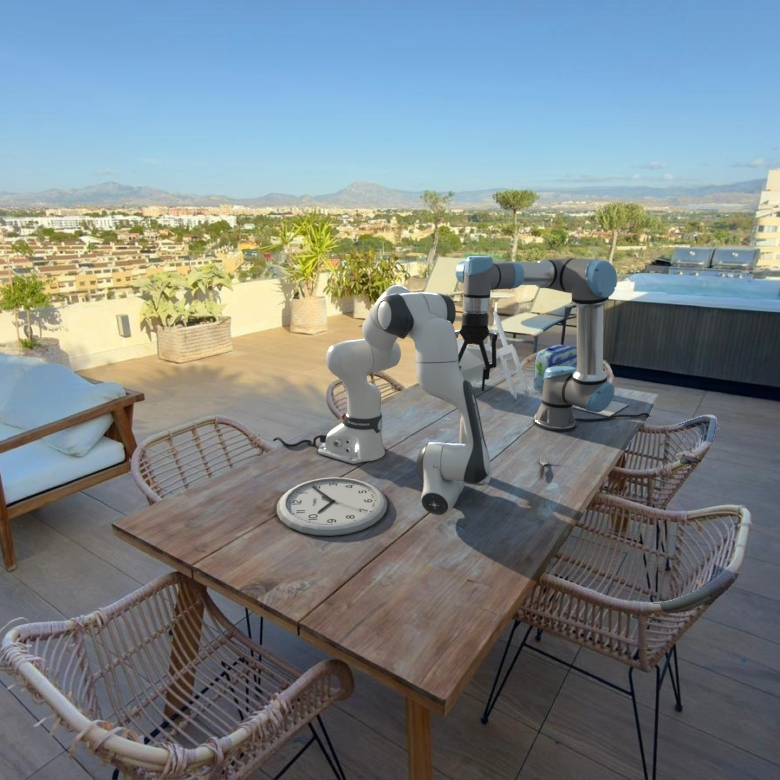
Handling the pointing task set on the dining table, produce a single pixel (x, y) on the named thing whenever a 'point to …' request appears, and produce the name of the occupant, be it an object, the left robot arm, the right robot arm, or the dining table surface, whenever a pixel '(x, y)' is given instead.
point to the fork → (543, 464)
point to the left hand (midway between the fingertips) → (462, 458)
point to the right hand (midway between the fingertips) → (470, 388)
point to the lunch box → (553, 361)
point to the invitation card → (608, 408)
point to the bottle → (462, 433)
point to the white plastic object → (475, 363)
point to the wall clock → (331, 506)
